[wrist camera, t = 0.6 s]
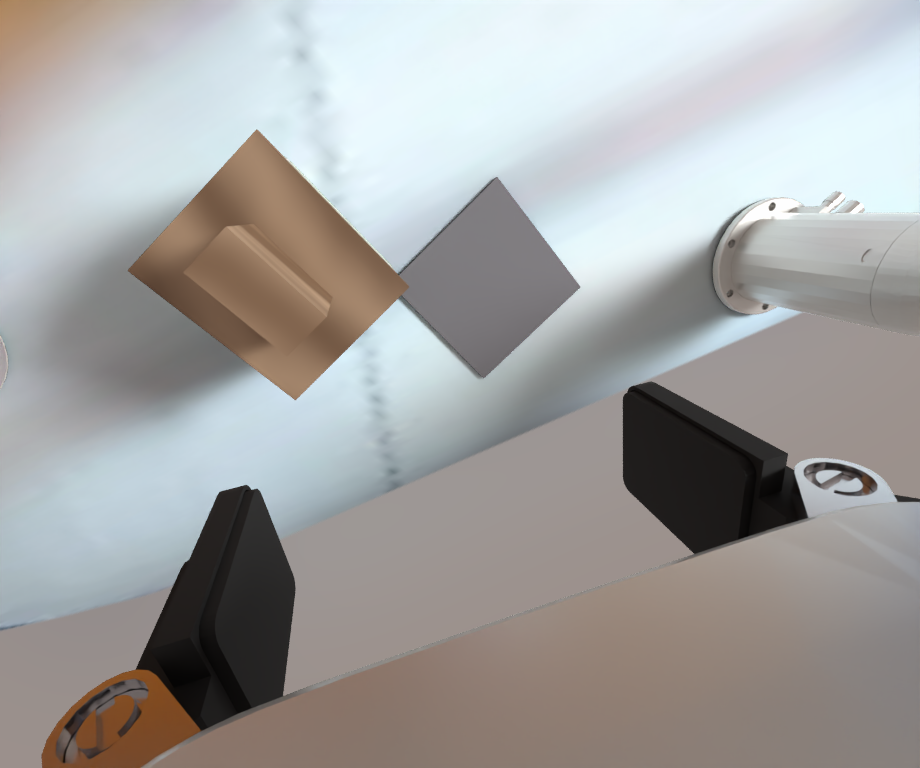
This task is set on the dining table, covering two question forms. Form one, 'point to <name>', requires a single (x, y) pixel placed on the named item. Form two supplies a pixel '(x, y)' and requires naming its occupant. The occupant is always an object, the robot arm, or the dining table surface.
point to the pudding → (3, 362)
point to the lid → (270, 269)
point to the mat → (487, 280)
